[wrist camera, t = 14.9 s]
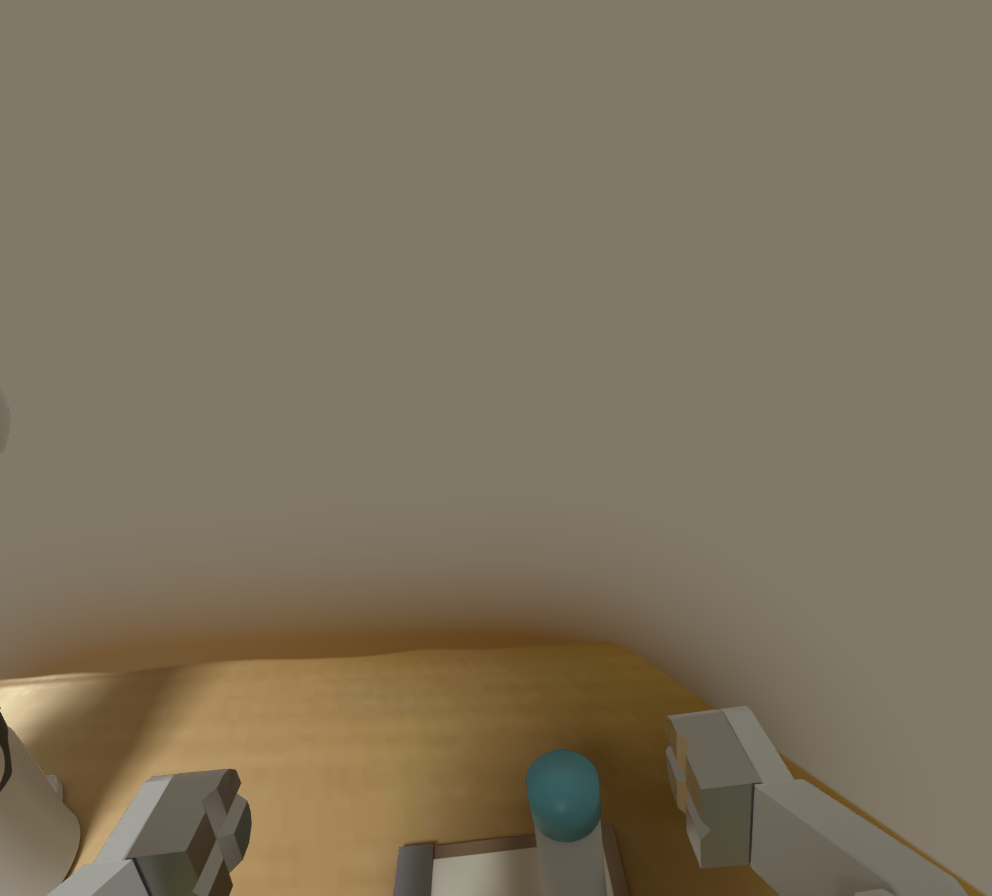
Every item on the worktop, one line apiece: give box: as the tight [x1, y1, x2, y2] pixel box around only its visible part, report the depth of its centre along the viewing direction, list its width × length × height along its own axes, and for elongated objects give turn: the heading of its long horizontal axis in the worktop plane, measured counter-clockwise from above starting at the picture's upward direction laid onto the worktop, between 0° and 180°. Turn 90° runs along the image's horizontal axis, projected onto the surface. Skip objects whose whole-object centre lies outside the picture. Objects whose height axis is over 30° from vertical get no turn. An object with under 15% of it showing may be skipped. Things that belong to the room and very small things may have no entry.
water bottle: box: [526, 750, 607, 896], centre depth 32 cm, size 4×4×12 cm
